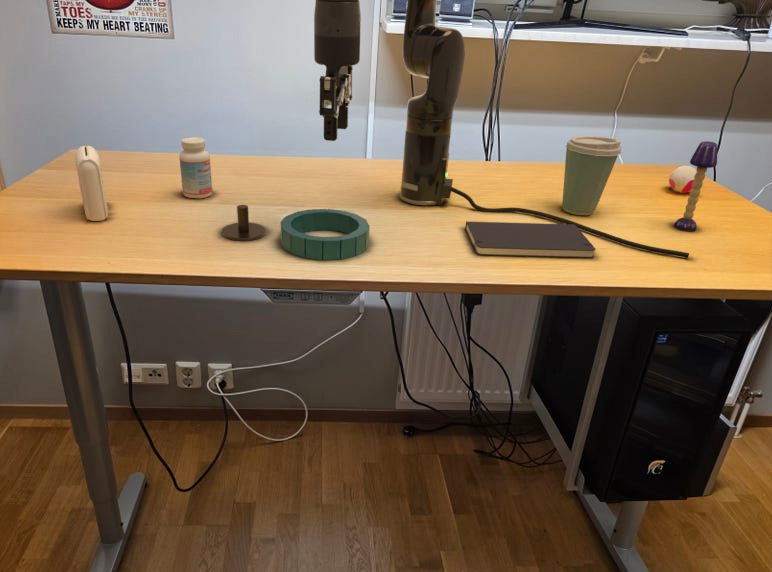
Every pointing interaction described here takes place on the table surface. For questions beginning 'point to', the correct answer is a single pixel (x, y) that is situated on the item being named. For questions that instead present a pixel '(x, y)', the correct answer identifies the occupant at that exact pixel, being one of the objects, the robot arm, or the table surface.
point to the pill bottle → (195, 168)
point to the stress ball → (682, 179)
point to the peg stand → (243, 227)
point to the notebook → (528, 239)
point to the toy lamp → (697, 182)
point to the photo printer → (91, 183)
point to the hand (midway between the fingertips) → (336, 134)
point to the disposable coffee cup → (587, 172)
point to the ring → (324, 246)
